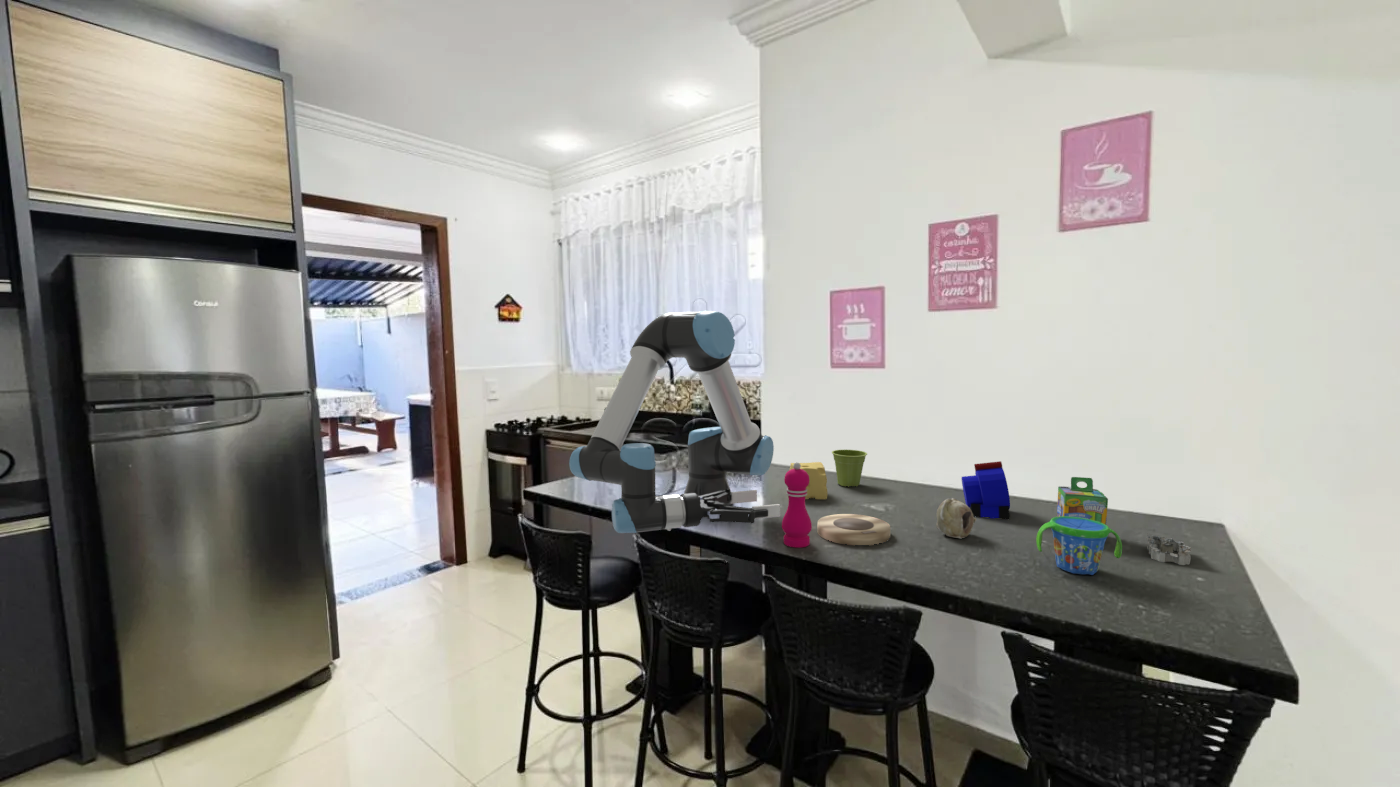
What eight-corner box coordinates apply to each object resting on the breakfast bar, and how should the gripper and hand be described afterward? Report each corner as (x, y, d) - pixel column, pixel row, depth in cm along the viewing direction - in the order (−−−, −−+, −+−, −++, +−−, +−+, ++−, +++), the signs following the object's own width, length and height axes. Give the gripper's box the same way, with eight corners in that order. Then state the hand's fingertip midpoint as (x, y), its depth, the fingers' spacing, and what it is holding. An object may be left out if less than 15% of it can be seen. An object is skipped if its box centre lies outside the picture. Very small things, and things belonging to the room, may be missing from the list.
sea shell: (941, 546, 147) (929, 510, 146) (940, 531, 155) (928, 496, 153) (981, 539, 143) (969, 502, 142) (978, 524, 151) (966, 489, 150)
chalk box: (1062, 540, 144) (1064, 480, 143) (1055, 529, 152) (1057, 473, 151) (1106, 544, 141) (1109, 483, 139) (1096, 533, 149) (1099, 475, 148)
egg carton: (1191, 568, 126) (1192, 549, 126) (1147, 561, 131) (1148, 543, 130) (1186, 553, 135) (1187, 536, 135) (1145, 547, 139) (1146, 530, 139)
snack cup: (1113, 565, 127) (1115, 519, 127) (1128, 584, 118) (1131, 534, 117) (1031, 556, 133) (1033, 512, 132) (1039, 573, 123) (1041, 526, 123)
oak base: (804, 526, 156) (805, 517, 156) (864, 520, 161) (864, 511, 161) (840, 549, 139) (840, 538, 139) (905, 541, 144) (905, 530, 144)
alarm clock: (1012, 520, 161) (1014, 466, 160) (963, 516, 165) (964, 463, 163) (1004, 508, 172) (1006, 457, 171) (959, 504, 176) (960, 455, 175)
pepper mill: (811, 549, 139) (812, 466, 137) (780, 547, 140) (780, 465, 139) (811, 539, 146) (812, 460, 144) (782, 537, 147) (782, 459, 146)
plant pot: (832, 488, 197) (832, 455, 196) (830, 480, 209) (830, 449, 208) (868, 489, 195) (869, 456, 194) (864, 481, 207) (865, 449, 206)
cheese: (827, 499, 183) (828, 468, 182) (793, 500, 183) (793, 468, 182) (821, 491, 193) (821, 461, 193) (788, 491, 194) (788, 461, 193)
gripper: (668, 512, 146) (747, 504, 152) (697, 544, 122) (790, 534, 128) (667, 482, 145) (747, 475, 151) (696, 509, 121) (790, 500, 127)
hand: (767, 502), depth 140 cm, fingers open, 13 cm apart
